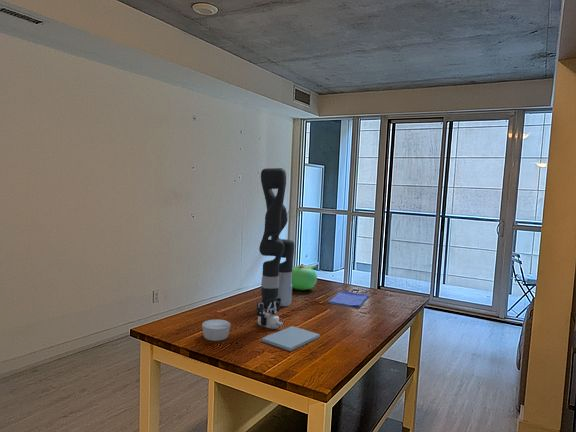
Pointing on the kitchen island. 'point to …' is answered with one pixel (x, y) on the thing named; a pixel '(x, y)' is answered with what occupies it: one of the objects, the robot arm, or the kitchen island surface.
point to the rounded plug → (271, 321)
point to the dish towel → (349, 299)
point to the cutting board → (290, 338)
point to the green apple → (303, 277)
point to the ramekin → (216, 329)
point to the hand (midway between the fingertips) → (268, 323)
